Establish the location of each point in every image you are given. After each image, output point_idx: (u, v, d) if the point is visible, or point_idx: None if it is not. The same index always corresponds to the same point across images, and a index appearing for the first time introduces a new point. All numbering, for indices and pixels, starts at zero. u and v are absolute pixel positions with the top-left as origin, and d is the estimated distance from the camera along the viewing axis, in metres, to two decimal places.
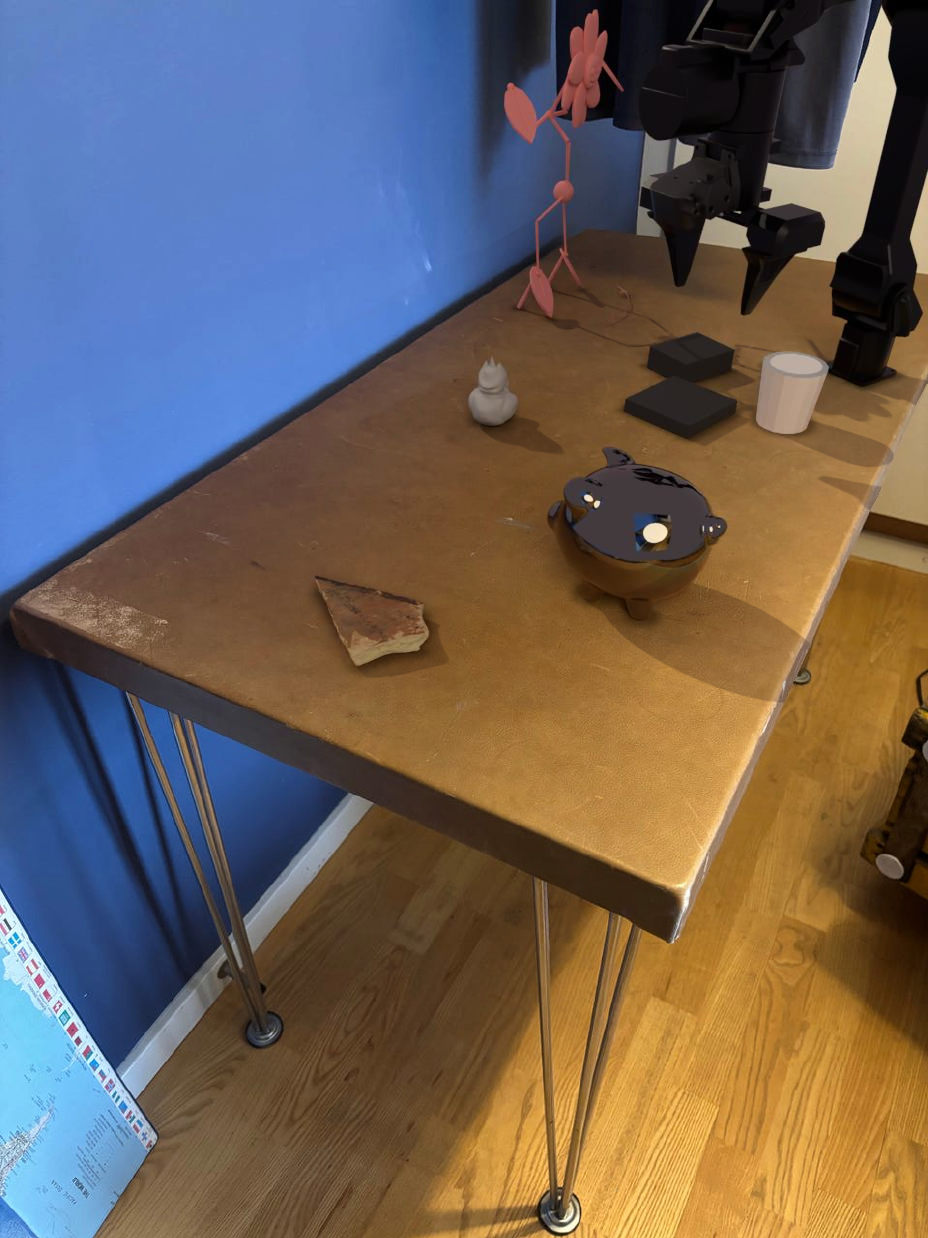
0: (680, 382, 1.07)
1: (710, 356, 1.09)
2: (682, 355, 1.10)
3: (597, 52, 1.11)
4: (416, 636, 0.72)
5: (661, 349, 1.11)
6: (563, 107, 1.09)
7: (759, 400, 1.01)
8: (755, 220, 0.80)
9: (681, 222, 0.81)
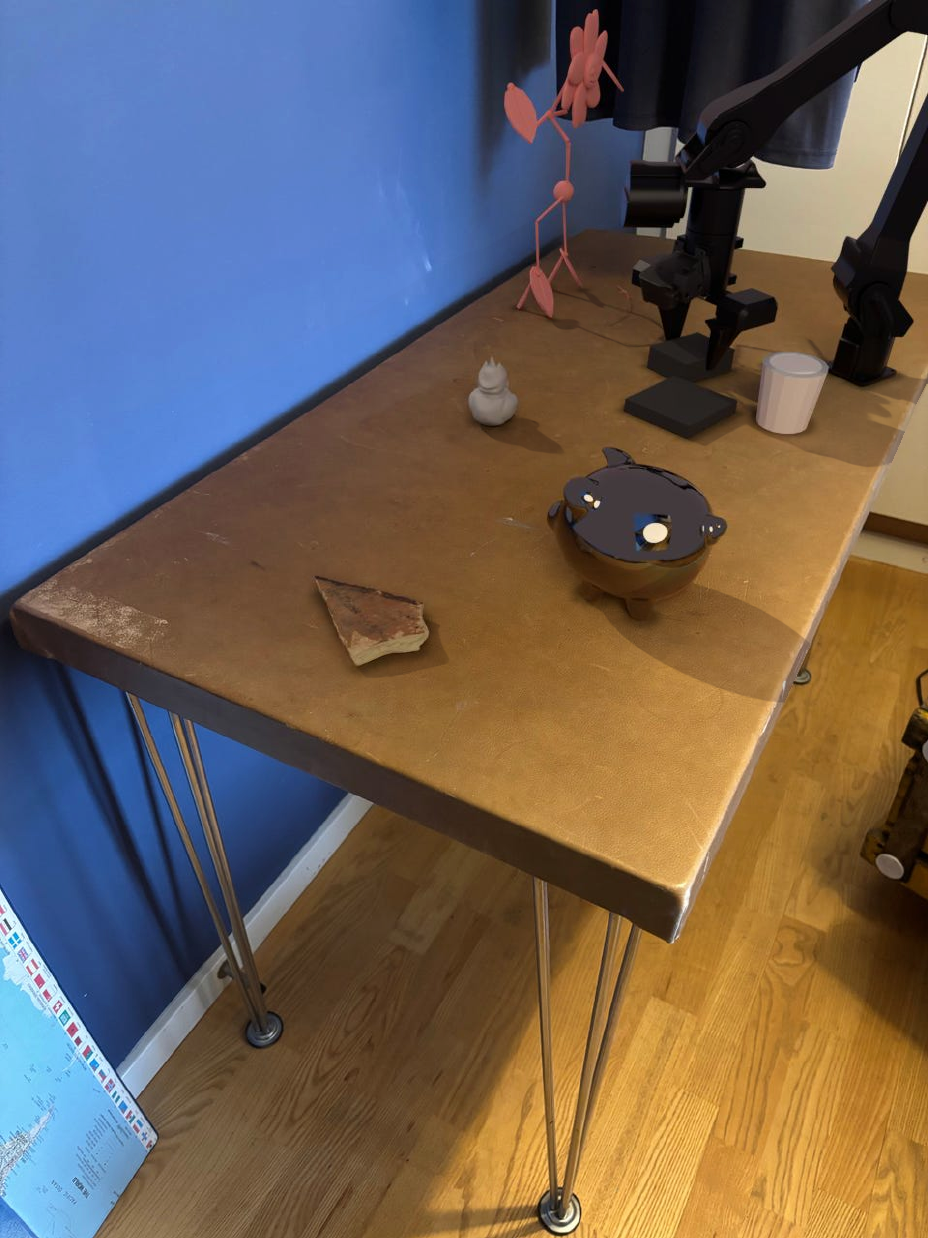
0: (680, 382, 1.07)
1: None
2: (682, 355, 1.10)
3: (597, 52, 1.11)
4: (416, 636, 0.72)
5: (662, 349, 1.11)
6: (563, 107, 1.09)
7: (759, 400, 1.01)
8: (722, 303, 1.01)
9: (664, 304, 1.02)
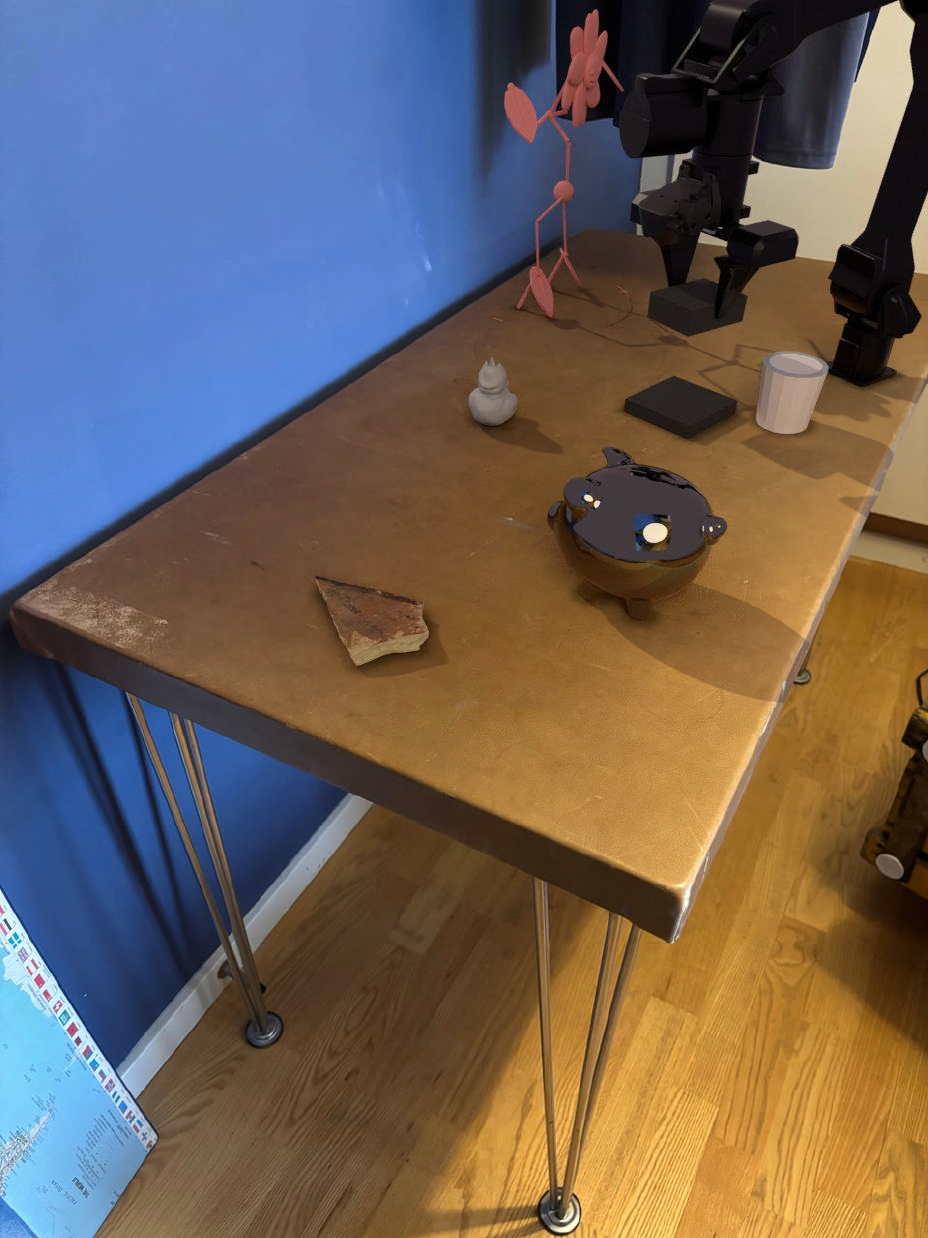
0: (680, 382, 1.07)
1: None
2: (687, 301, 0.96)
3: (597, 52, 1.11)
4: (416, 636, 0.72)
5: (664, 295, 0.97)
6: (563, 107, 1.09)
7: (759, 400, 1.01)
8: (734, 235, 0.88)
9: (667, 237, 0.89)
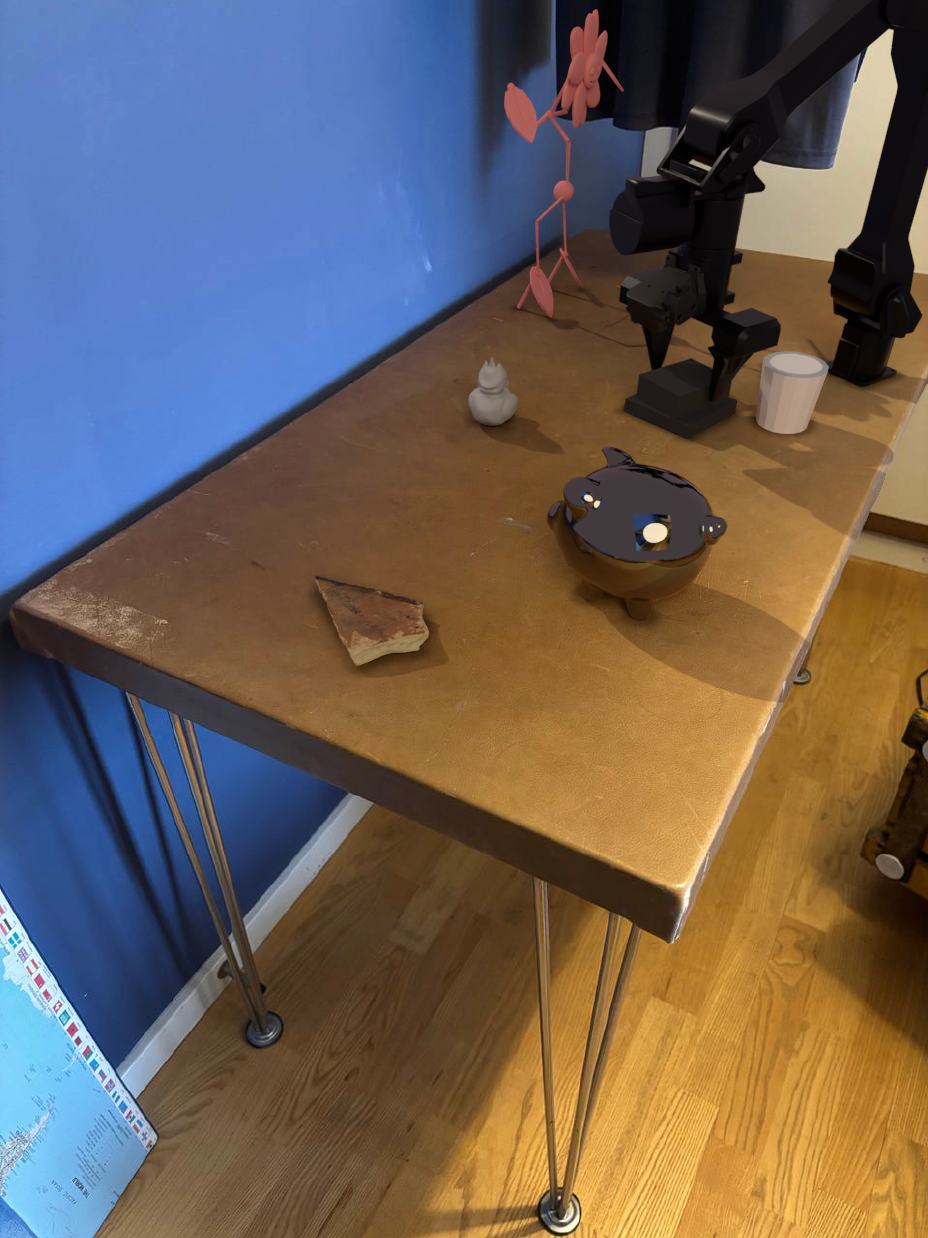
0: None
1: (705, 386, 1.00)
2: (675, 385, 1.00)
3: (597, 52, 1.11)
4: (416, 636, 0.72)
5: (652, 378, 1.01)
6: (563, 107, 1.09)
7: (759, 400, 1.01)
8: (719, 324, 0.91)
9: (654, 326, 0.92)
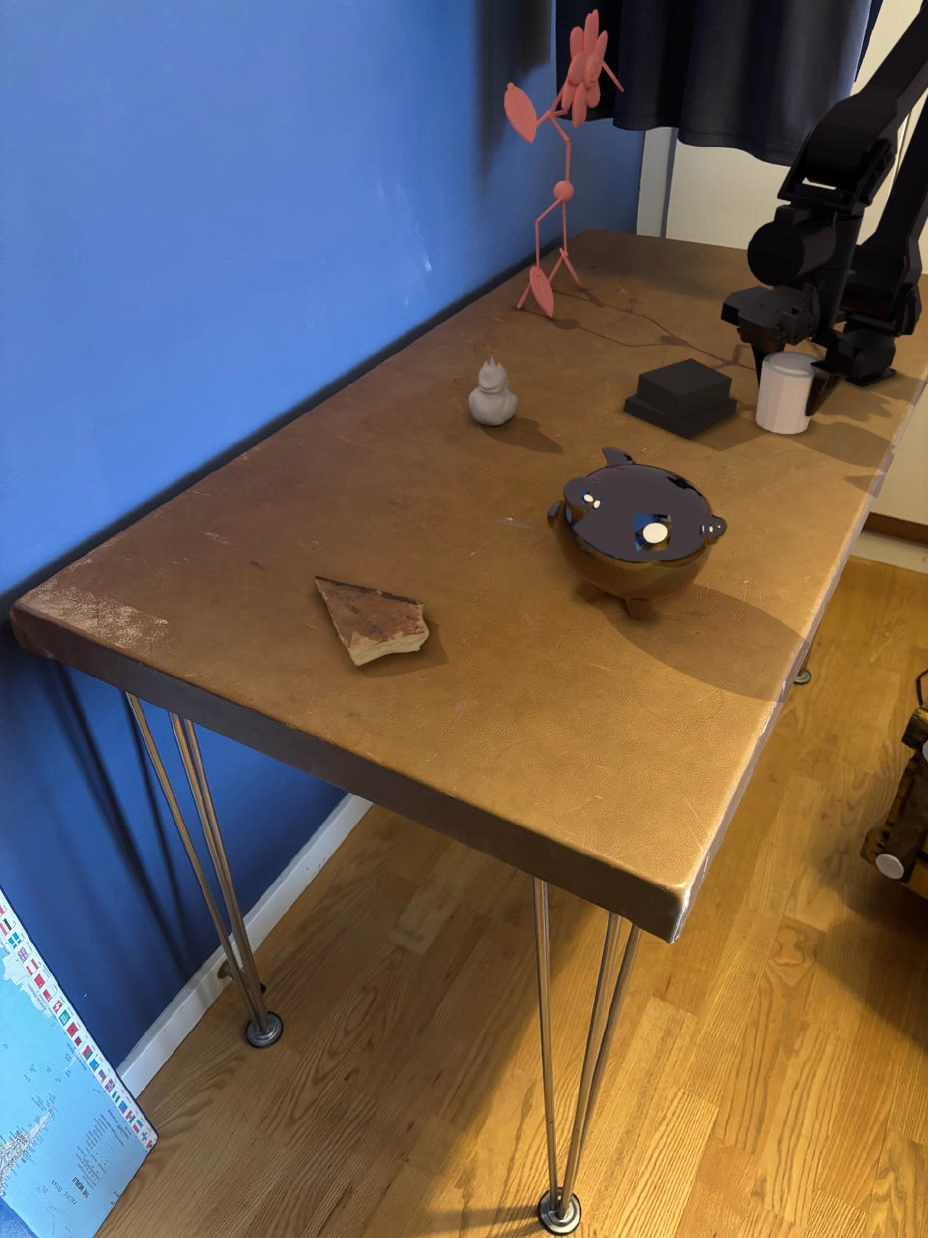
0: None
1: (705, 386, 1.00)
2: (675, 385, 1.00)
3: (597, 52, 1.11)
4: (416, 636, 0.72)
5: (652, 378, 1.01)
6: (563, 107, 1.09)
7: (759, 400, 1.01)
8: (834, 345, 0.90)
9: (767, 346, 0.91)
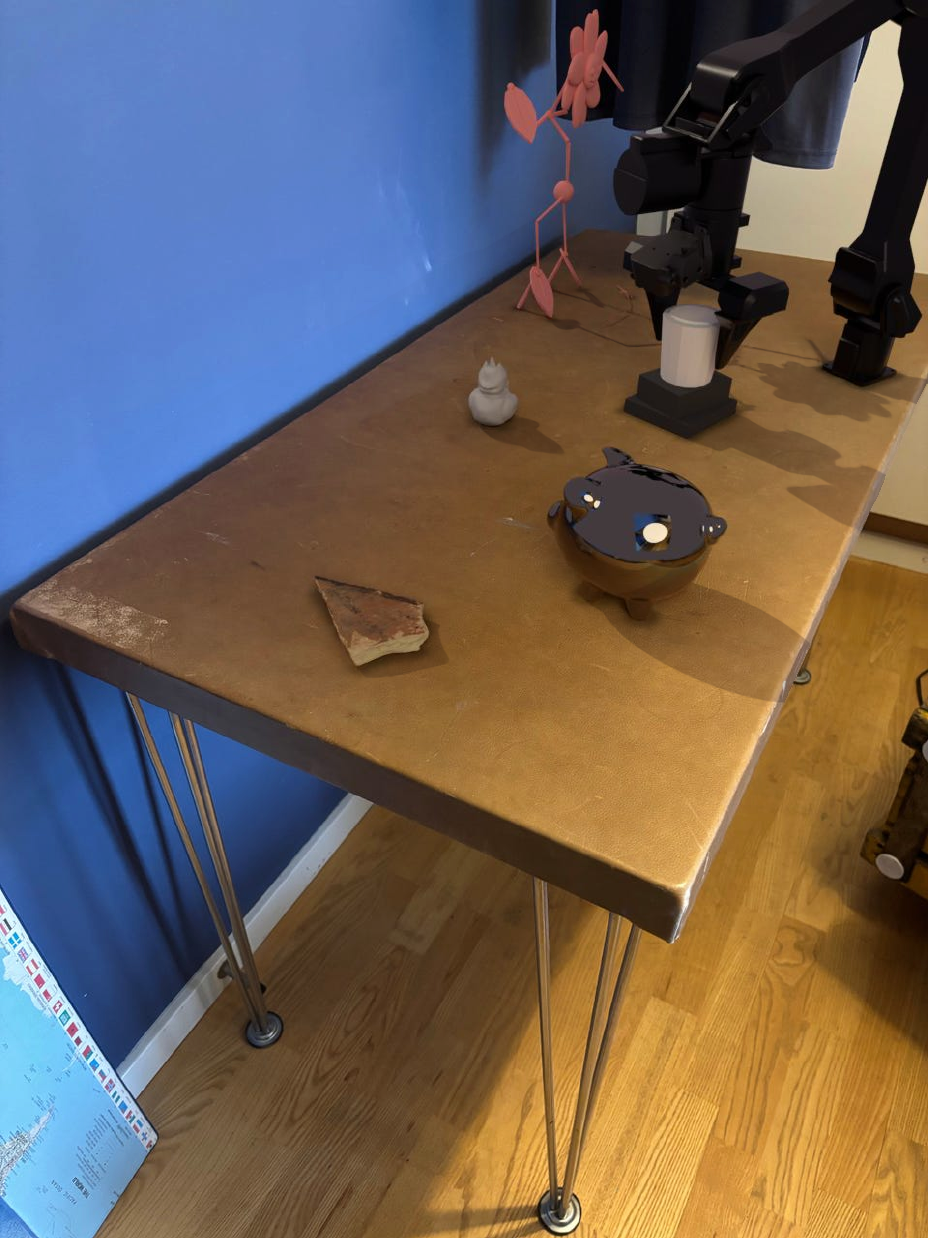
0: None
1: (705, 386, 0.99)
2: (674, 385, 1.00)
3: (597, 52, 1.11)
4: (416, 636, 0.72)
5: (652, 378, 1.01)
6: (563, 107, 1.09)
7: (662, 353, 1.00)
8: (725, 288, 0.89)
9: (659, 289, 0.90)
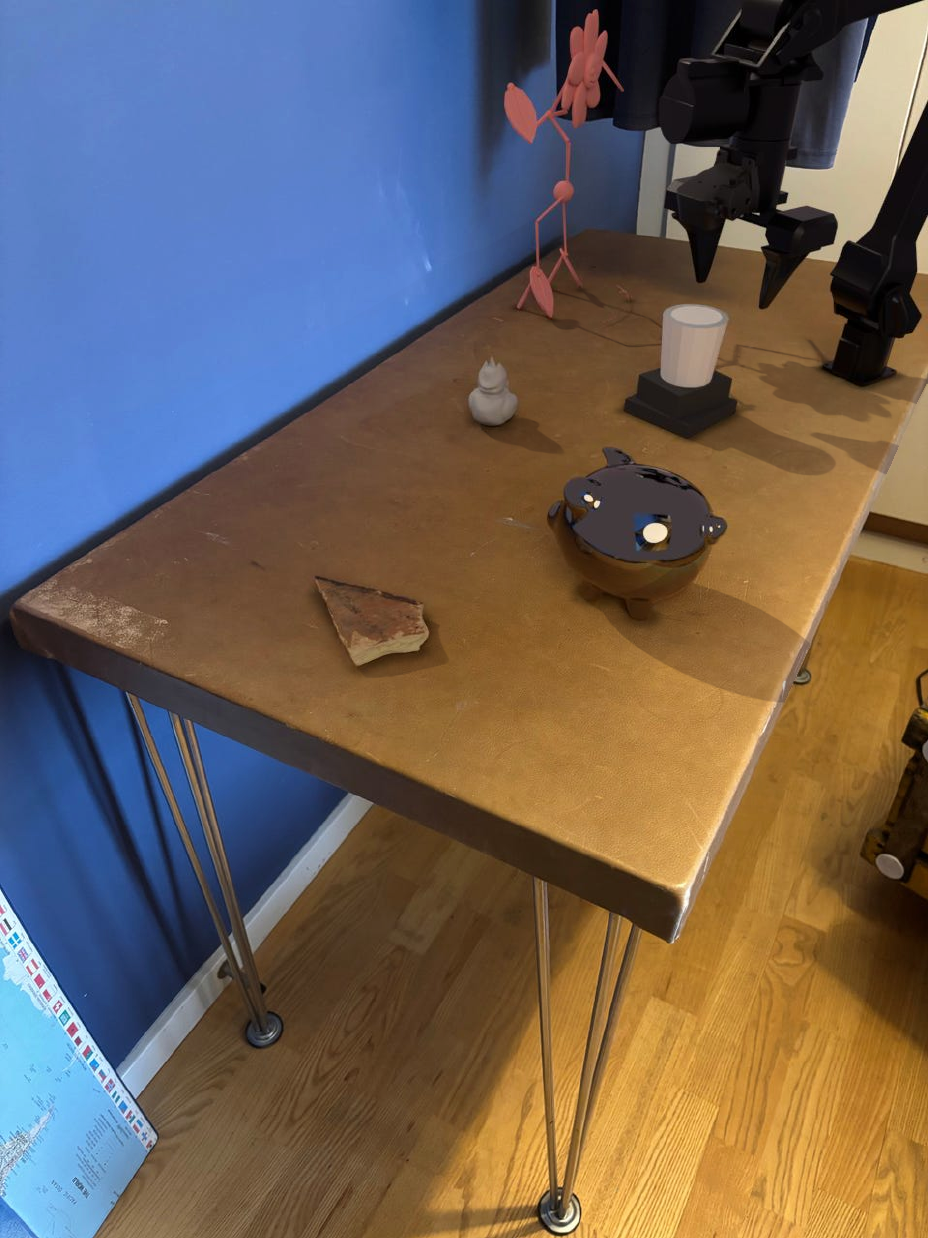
0: None
1: (705, 386, 1.00)
2: (674, 385, 1.00)
3: (597, 52, 1.11)
4: (416, 636, 0.72)
5: (652, 378, 1.01)
6: (563, 107, 1.09)
7: (662, 353, 1.00)
8: (774, 221, 0.87)
9: (705, 223, 0.88)
